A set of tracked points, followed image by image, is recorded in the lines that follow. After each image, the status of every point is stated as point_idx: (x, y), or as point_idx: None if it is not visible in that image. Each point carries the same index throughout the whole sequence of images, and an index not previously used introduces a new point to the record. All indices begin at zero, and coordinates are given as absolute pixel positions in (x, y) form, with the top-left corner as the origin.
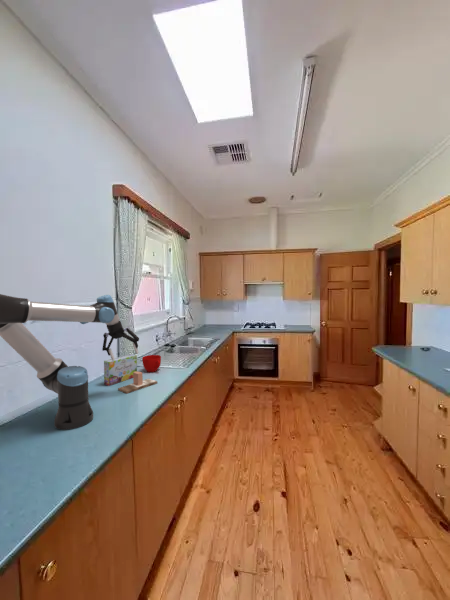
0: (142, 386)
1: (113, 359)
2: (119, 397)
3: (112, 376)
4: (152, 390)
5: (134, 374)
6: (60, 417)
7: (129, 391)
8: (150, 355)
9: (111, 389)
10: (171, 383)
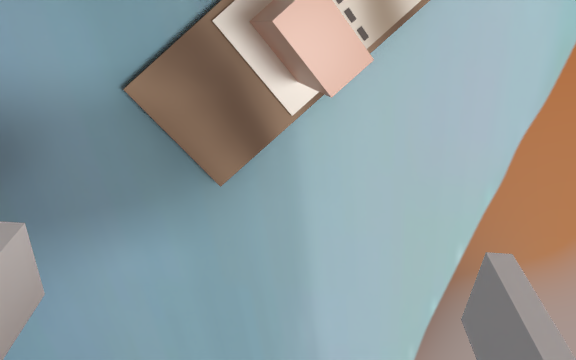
0: None
1: (34, 302)
2: (179, 242)
3: None
4: (395, 145)
5: (284, 41)
6: None
7: (237, 168)
8: None
9: (50, 52)
10: (534, 18)
